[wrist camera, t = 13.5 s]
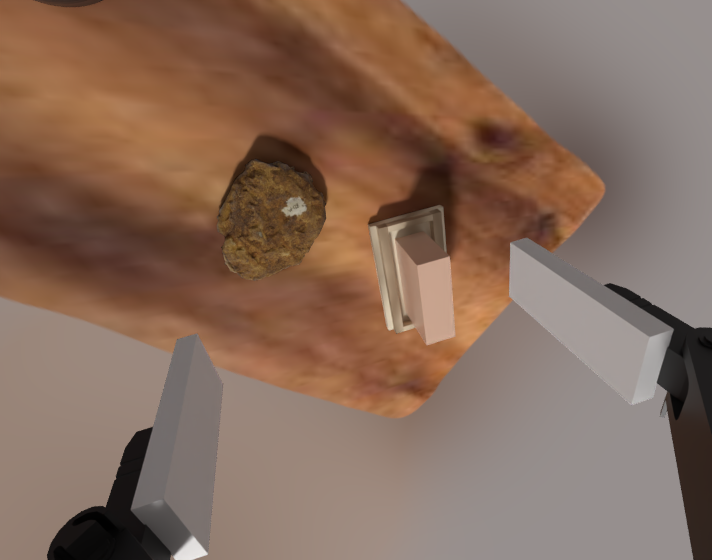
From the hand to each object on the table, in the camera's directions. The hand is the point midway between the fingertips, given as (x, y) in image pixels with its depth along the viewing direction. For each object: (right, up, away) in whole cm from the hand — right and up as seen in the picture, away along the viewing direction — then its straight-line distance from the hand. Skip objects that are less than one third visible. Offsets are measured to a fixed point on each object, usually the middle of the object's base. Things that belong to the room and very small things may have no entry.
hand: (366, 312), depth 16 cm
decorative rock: (-11, +9, +31) cm, 34 cm away
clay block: (+8, +2, +38) cm, 39 cm away
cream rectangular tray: (+7, +3, +39) cm, 40 cm away
